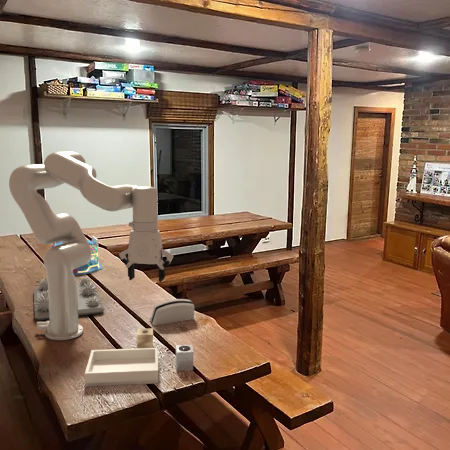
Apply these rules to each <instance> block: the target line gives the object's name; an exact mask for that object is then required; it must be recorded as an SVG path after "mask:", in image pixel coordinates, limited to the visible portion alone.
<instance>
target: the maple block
mask: <svg viewBox="0 0 450 450" xmlns="http://www.w3.org/2000/svg"><path fill="white" fill-rule="evenodd" d="M136 333H137V335H136V349H138V348H154V328H152V327H151V328H137V332H136Z"/></svg>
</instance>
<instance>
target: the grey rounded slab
mask: <svg viewBox="0 0 450 450" xmlns="http://www.w3.org/2000/svg"><path fill="white" fill-rule="evenodd" d="M191 319H192V320H194V319H195V304H193V301H192V300H191V299H185V298H177V299H175V298H174V299H170V300H165V301H162V302H160V303H157V304H155V305H154V307H153V310H152V313H151V315H150V318H149V321H150V320H151V321H150V322H151V325H152V324H153V325H155V326H158V325H157V324H161V325H165V324H164V323H167V324H172V323H171V322H173V323H178V321H180V322H184V320H186V321H191ZM153 325H152V326H153Z"/></svg>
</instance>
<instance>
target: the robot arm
mask: <svg viewBox="0 0 450 450" xmlns="http://www.w3.org/2000/svg"><path fill="white" fill-rule="evenodd" d="M64 184H67V185H68V186H70V187H72V188H73V189H74V188H75V189H76V190H79V191H80V193H81V195H82V196H83V198H84V199H85V200H86V201H87V202H89V203H90V204H92V205H94V206H96V207H98V208H100V209H102V210H105V211H107V212H118V211H123V210H127V209H132V220H131V221H130V222H128V227H129V228H132V230H130V232H129V238H128V248H127V249H125V250H123V251H120V252H119V253H118V255H119V258H120V259H121V261H122V263H123V264H124V265H125V267H126V268H127V277H128V280H129V281H132V280H134V278H135V277H136V276H135V265H134V264H141V265H143V264H144V265H145V264H146V265H157V267H159V269H158V282H159V283H162V282H163V281H164V280H165V278H166V267H168V265H170V264H171V262H172V260H173V258H174V255H173V254H172V253H170V252H168V251H166V250H165V249H163V248H164V247H163V240H162V236H161V232H160V230H159V227H158V225H159V224H158V191H157V188H156V187H154V186H149V185H148V186H146V185H144V186H143V185H142V186H138V185H135V184H128V183H127V184H119V185H113V186H111V185H107V184H106V183H104V182H103V181H102V182H101V181H100V180H98V179H97V171H96V169H95V168H94V167H93V166H91V165H89V164H87V163H86V160H85V158H84V156H83V155H82V154H80V153H79V152H75V151H56V152H55V151H54V152H51V153H49V154H48V155H47V156H46V157H45V159H44V161H43V163H39V164H37V163H34V164H25V165H20V166H18V167H16V168H14V170H12V172H11V174H10V176H9V181H8V187H9V192H10V195H11V196H12V198H13V200H14V202H15V203H16V204H17V206H18V207H19V209H20V210H21V212H22V213H23V215H24V217H25V219H26V222H27V224H28V225H29V227H30V230H31V231H32V233H33V235H34V237H35V238H36V240H37V241H38V243H40V244H42V245H51V244H52V245H53V244H54V243H56V242H60V241H61V242H62V243H63V244H60V245H57V246H54V247H52V246H51V248H49V249H48V250H47V251H46V252H45V253H44V257H43V265H44V268H45V273H46V281H47V280H48V297H49V319H48V320H46V321H36V328H38V330H44V331H45V332H44V336H45V337H46V338H47V339H48V340H52V341H69V340H73V339H75V338H77V337H80V336H81V335H82V334H83V333H84V326H83V325H81V324H79V323H80V322H79V316H78V286H77V284H78V281H77V277H76V276H75V275H74V274H73V270H74V269H76V268H78V267H81V266H83V265H85V264H87V263H88V262H89V261H90V259H91V257H93V255H92V251H91V248H92V247H91V245H89V243H88V242H87V240H88V239H87V238H86V235H85V233H84V232H83V230H82V228H81V227H80V226H81V225H80V224H79V222H78V221H77V220H76V218H74V216H72V215H71V214H69V213H66V212H65V213H63V212H62V213H61V212H60V213H54V212H53V210H52V208H51V207H50V205H49V203H48V201H47V200H46V199H45V198H44V197H43V196H42V195H41V194H40V193H38V192H37V190H45V189H52V188H55V187H58V186H62V185H64ZM126 255H127V256H126ZM164 257H166V261H164V260H163V258H164Z"/></svg>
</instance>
